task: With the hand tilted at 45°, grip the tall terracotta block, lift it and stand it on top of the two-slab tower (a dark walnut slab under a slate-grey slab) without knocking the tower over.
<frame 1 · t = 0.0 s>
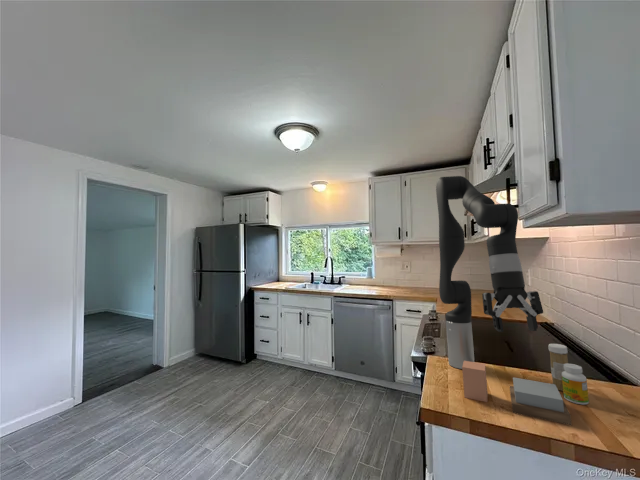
hand: (516, 331, 73), 22 cm above the counter, tool pointing down, fingers open, 8 cm apart
sprinkles bottle: (561, 389, 86), on the counter
walnut slab: (537, 410, 76), on the counter, touching grey slab
supplement bottle: (576, 401, 79), on the counter
grey slab: (536, 398, 76), point 2 cm above the counter, touching walnut slab
terracotta block: (476, 395, 84), on the counter
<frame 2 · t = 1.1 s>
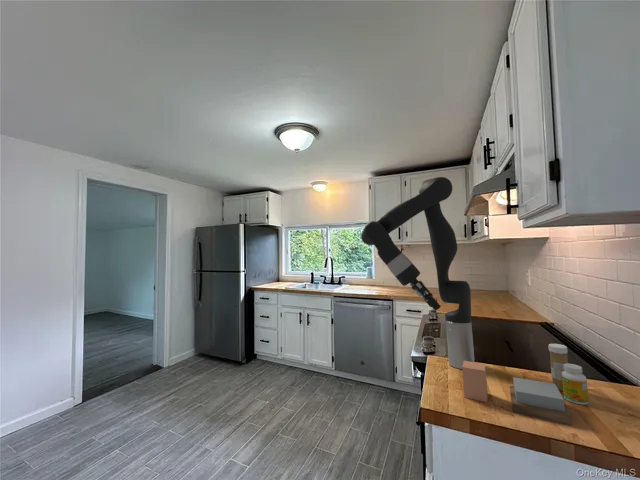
hand: (435, 307, 90), 26 cm above the counter, tool tilted 35°, fingers open, 8 cm apart
nothing on the counter moved.
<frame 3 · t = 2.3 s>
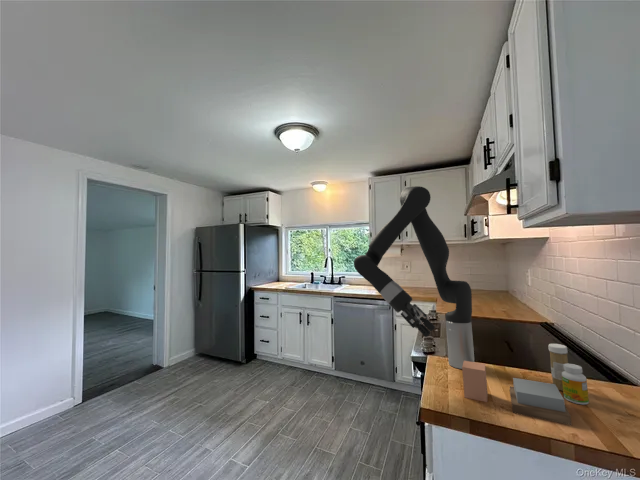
hand: (431, 332, 91), 18 cm above the counter, tool tilted 45°, fingers open, 8 cm apart
nothing on the counter moved.
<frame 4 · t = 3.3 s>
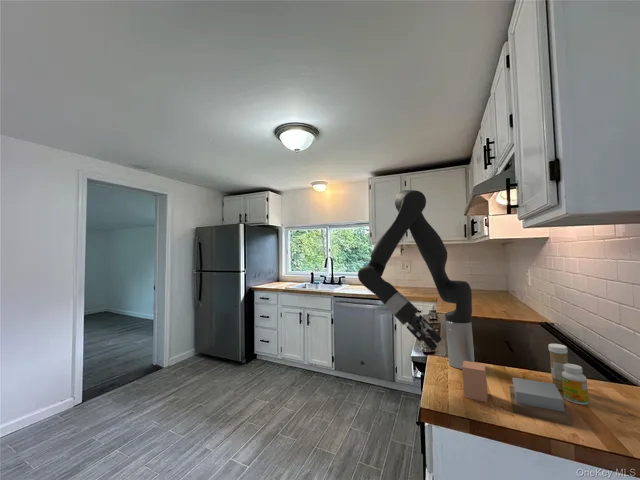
hand: (437, 344, 90), 14 cm above the counter, tool tilted 45°, fingers open, 8 cm apart
nothing on the counter moved.
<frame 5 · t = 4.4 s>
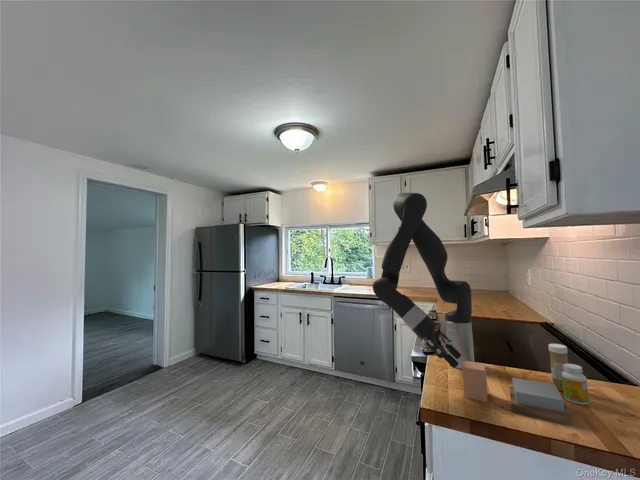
hand: (458, 361, 87), 9 cm above the counter, tool tilted 45°, fingers open, 8 cm apart
nothing on the counter moved.
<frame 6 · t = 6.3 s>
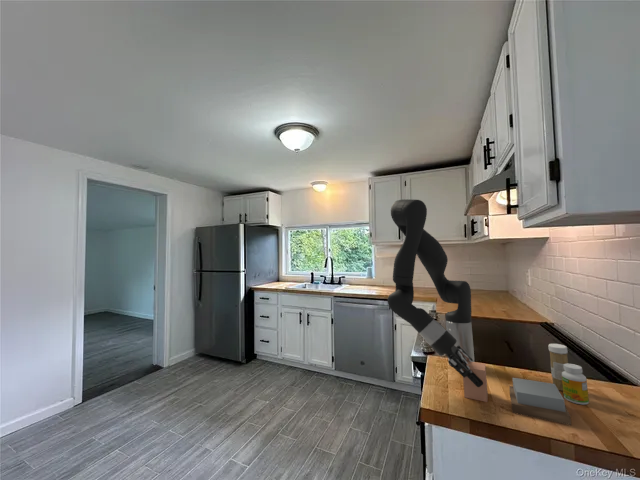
hand: (481, 380, 83), 5 cm above the counter, tool tilted 45°, fingers closed on terracotta block, 6 cm apart
terracotta block: (476, 395, 84), on the counter, touching gripper
everything else where it was.
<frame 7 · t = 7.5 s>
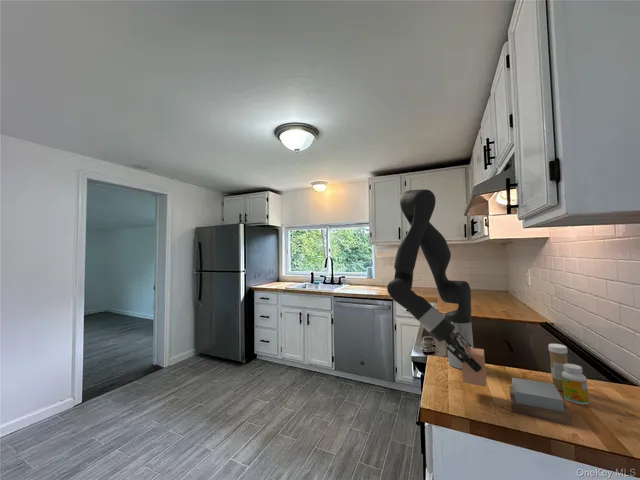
hand: (479, 366, 84), 9 cm above the counter, tool tilted 45°, fingers closed on terracotta block, 6 cm apart
terracotta block: (474, 380, 84), point 4 cm above the counter, touching gripper
everything else where it was.
when the fingers open (11 cm above the counter, at t = 11.9 s): terracotta block drops 1 cm, resting on grey slab.
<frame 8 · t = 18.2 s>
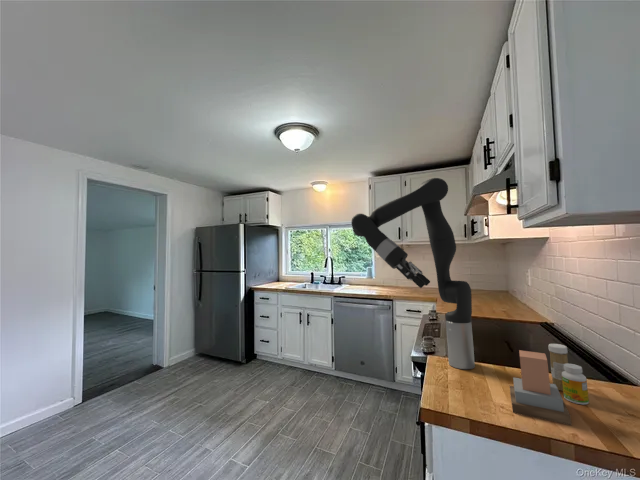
hand: (425, 284, 93), 34 cm above the counter, tool tilted 45°, fingers open, 8 cm apart
grey slab: (536, 398, 76), point 2 cm above the counter, touching terracotta block, walnut slab
terracotta block: (535, 387, 76), point 5 cm above the counter, touching grey slab
everything else where it was.
at the end: terracotta block 0.3 cm off-centre on the grey slab, point 3.0 cm above the grey slab's base; terracotta block tilted 0°; grey slab 0.2 cm off-centre on the walnut slab, point 3.0 cm above the walnut slab's base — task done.
